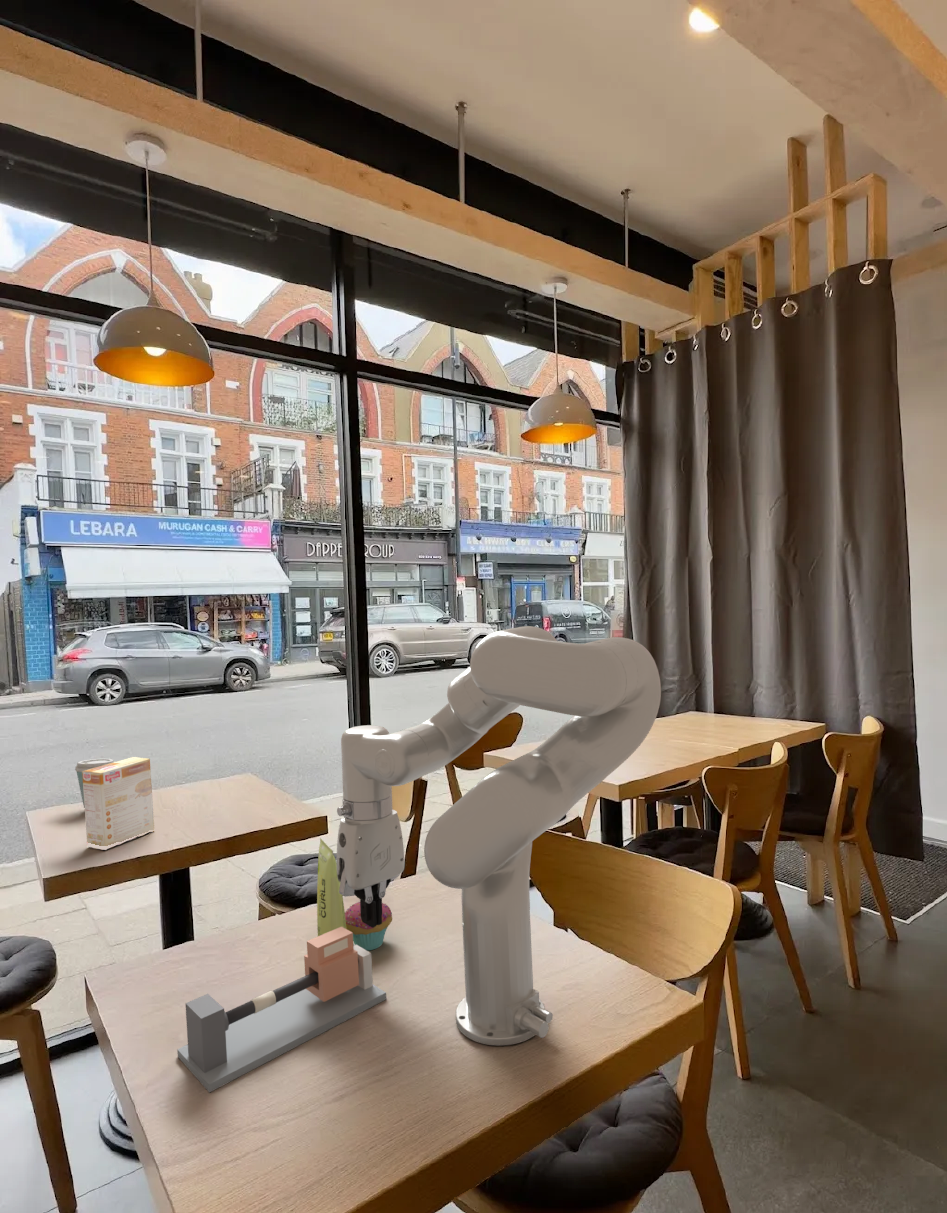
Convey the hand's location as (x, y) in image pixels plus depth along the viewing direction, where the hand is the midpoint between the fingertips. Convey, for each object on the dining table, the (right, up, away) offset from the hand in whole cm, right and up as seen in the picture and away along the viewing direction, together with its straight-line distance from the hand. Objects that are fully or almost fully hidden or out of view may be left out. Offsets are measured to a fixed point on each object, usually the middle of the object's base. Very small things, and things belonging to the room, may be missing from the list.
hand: (371, 923), depth 113 cm
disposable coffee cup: (-94, -11, +99) cm, 137 cm away
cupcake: (-2, -9, +12) cm, 15 cm away
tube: (-7, -9, +7) cm, 14 cm away
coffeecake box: (-74, -11, +72) cm, 104 cm away
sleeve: (-5, -7, -6) cm, 10 cm away
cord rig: (-10, -10, -11) cm, 18 cm away
